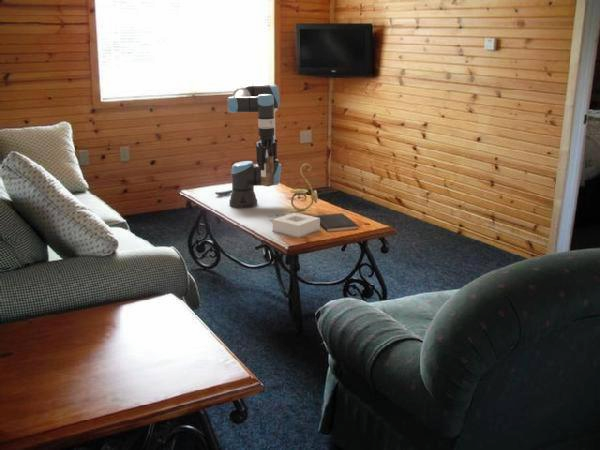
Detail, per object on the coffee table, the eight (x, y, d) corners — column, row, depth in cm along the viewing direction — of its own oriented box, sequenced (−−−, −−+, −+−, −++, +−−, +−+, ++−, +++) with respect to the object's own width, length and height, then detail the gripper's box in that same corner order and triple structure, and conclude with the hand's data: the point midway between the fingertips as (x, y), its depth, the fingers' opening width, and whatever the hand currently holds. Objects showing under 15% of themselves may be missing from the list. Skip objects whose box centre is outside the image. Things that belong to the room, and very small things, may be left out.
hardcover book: (342, 217, 359) (342, 213, 359) (358, 229, 338) (358, 225, 338) (312, 220, 355) (312, 215, 355) (326, 232, 334) (326, 228, 333)
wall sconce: (313, 207, 377) (313, 161, 370) (318, 211, 368) (318, 164, 361) (288, 208, 374) (287, 162, 367) (292, 213, 365) (291, 166, 358)
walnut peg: (267, 183, 344) (266, 155, 340) (273, 184, 341) (273, 156, 337) (261, 185, 340) (260, 156, 336) (267, 186, 338) (267, 157, 334)
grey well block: (294, 224, 346) (294, 212, 344) (319, 230, 336) (319, 218, 335) (272, 231, 334) (272, 219, 333) (298, 238, 325) (298, 225, 323)
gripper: (259, 130, 324) (260, 180, 331) (284, 125, 337) (284, 173, 344) (247, 129, 329) (249, 177, 335) (272, 124, 341) (273, 171, 348)
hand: (267, 175), depth 339 cm, fingers closed on walnut peg, 4 cm apart
